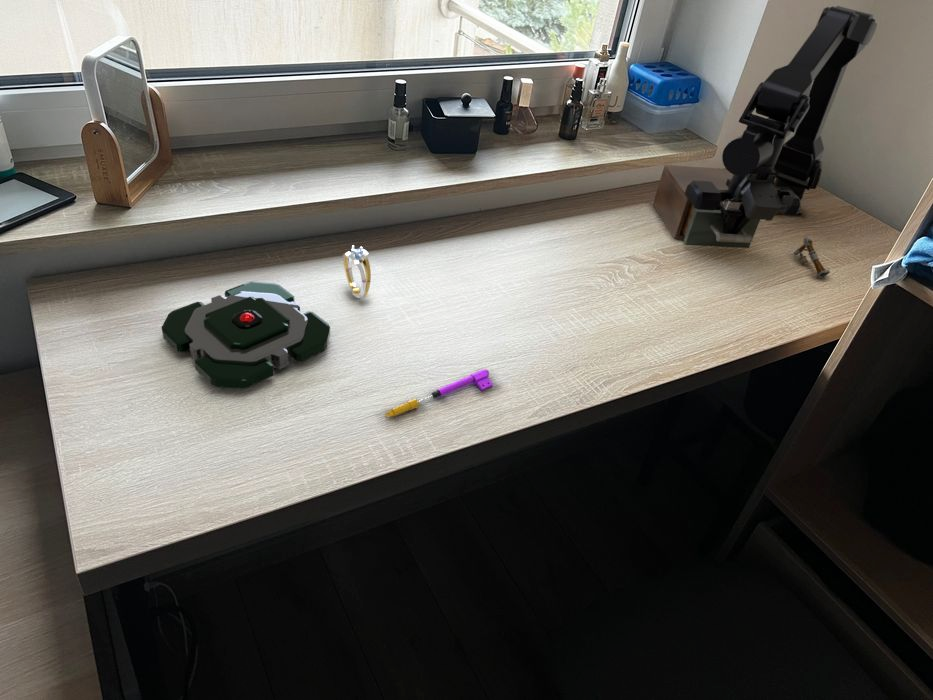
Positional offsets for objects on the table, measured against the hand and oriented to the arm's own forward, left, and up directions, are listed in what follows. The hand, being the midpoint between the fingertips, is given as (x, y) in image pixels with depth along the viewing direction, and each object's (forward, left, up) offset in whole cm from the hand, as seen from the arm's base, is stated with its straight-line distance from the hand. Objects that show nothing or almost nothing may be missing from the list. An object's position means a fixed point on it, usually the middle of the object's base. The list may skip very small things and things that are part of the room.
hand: (726, 241), depth 129 cm
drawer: (-6, 0, -3) cm, 7 cm away
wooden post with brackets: (+2, +16, -4) cm, 17 cm away
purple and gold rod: (+39, -53, -4) cm, 66 cm away
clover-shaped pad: (+28, -79, -4) cm, 84 cm away
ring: (+16, -65, -4) cm, 67 cm away
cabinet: (-13, 0, -4) cm, 13 cm away
